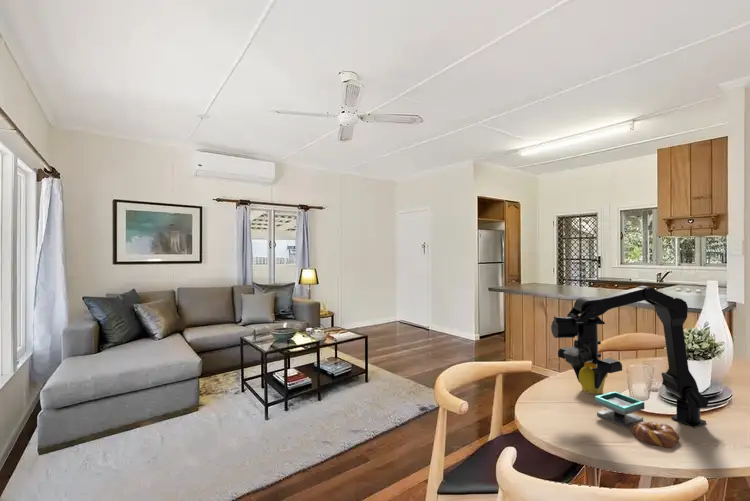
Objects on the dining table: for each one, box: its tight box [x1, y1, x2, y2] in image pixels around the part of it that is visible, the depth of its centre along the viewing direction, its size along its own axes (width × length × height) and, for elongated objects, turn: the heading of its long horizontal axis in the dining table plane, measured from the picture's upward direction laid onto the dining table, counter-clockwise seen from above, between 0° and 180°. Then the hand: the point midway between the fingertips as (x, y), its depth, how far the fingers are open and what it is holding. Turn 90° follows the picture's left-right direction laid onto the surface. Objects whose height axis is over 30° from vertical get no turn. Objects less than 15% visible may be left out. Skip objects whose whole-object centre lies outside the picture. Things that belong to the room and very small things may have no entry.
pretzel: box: [631, 421, 680, 449], centre depth 106 cm, size 12×11×4 cm
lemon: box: [578, 366, 595, 390], centre depth 118 cm, size 6×6×8 cm
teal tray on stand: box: [594, 391, 645, 428], centre depth 118 cm, size 10×10×6 cm
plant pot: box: [581, 362, 609, 395], centre depth 140 cm, size 10×10×10 cm
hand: (588, 385), depth 118 cm, fingers closed on lemon, 5 cm apart
